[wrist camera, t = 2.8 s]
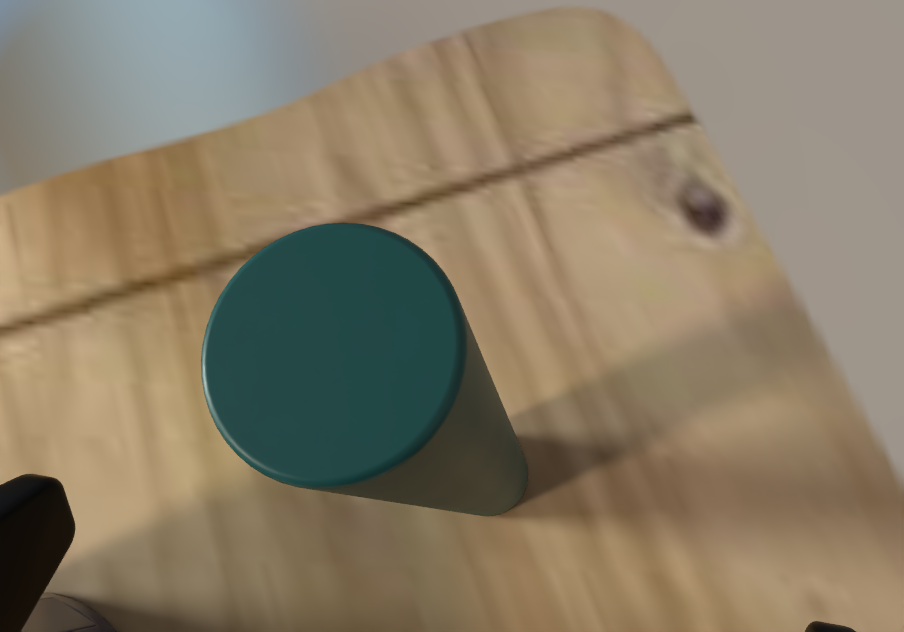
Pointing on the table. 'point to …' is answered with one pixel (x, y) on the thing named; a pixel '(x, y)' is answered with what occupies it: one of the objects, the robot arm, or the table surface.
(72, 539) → the robot arm
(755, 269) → the table surface
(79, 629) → the cup
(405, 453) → the teal green rod
